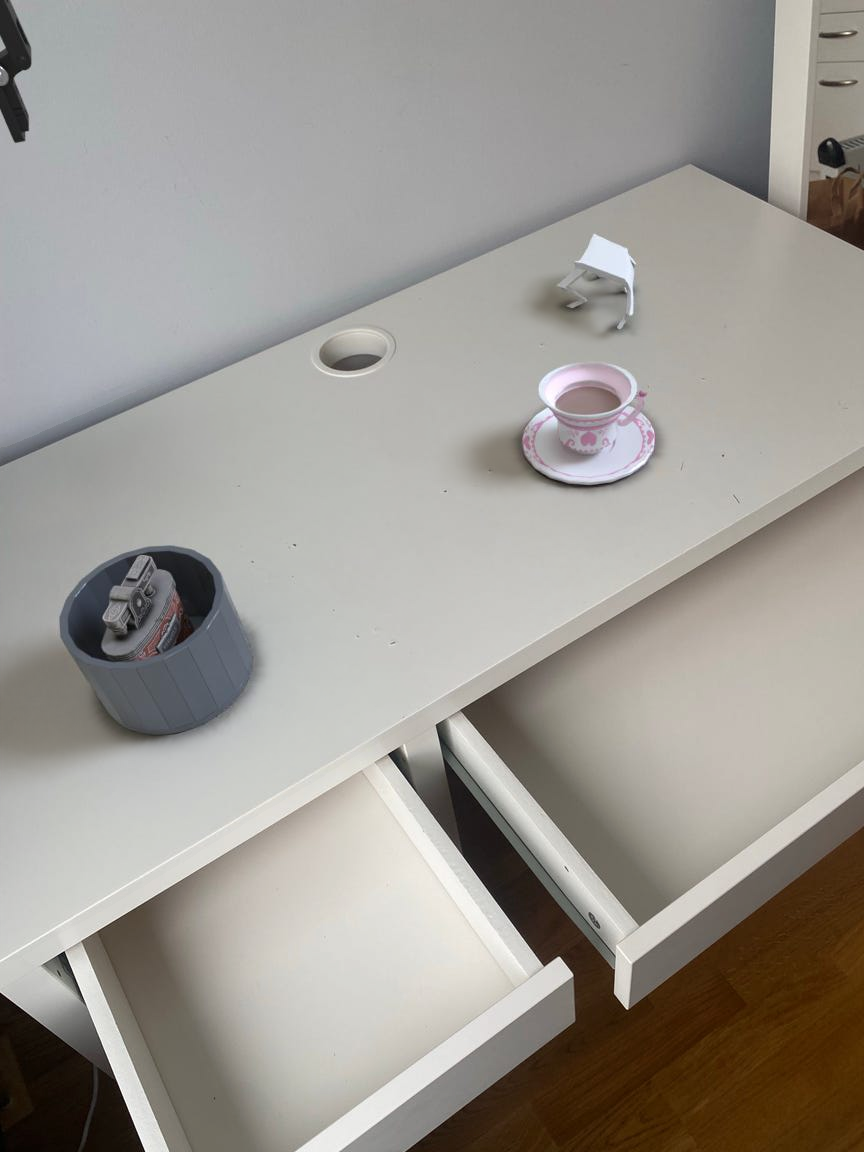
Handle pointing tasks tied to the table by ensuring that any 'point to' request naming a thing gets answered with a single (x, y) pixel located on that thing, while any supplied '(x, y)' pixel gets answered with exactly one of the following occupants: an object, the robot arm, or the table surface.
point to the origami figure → (604, 270)
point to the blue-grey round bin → (176, 677)
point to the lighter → (144, 615)
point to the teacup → (589, 425)
